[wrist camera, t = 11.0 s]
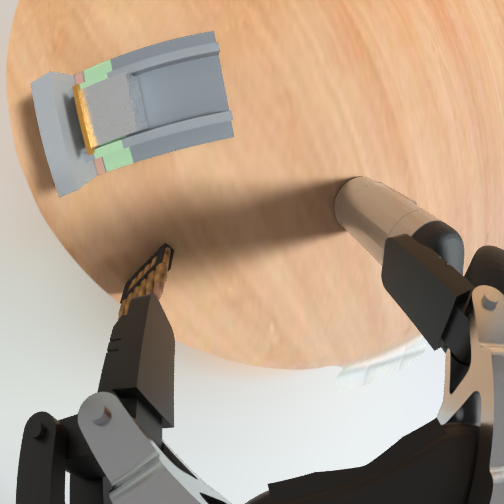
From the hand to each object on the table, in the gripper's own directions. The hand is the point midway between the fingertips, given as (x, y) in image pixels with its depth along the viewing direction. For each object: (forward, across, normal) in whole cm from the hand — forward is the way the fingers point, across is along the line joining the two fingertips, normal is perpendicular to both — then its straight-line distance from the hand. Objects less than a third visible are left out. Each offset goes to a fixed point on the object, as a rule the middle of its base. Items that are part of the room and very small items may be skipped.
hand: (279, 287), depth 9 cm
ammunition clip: (+30, +15, +15) cm, 37 cm away
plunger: (+29, +11, -9) cm, 32 cm away
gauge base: (+30, +9, -9) cm, 33 cm away
